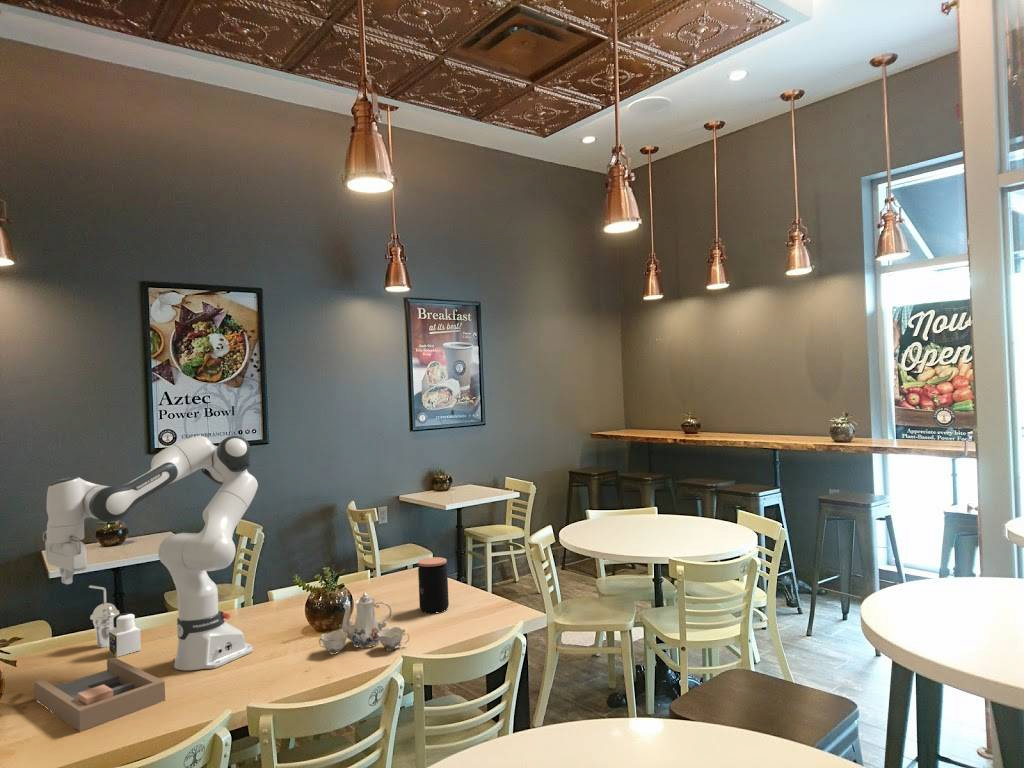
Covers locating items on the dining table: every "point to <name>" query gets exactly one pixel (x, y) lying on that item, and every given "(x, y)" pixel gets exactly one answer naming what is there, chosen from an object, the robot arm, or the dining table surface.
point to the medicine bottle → (124, 635)
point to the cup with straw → (103, 620)
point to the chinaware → (363, 629)
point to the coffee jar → (433, 584)
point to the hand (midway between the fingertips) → (67, 583)
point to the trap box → (128, 697)
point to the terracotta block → (95, 694)
